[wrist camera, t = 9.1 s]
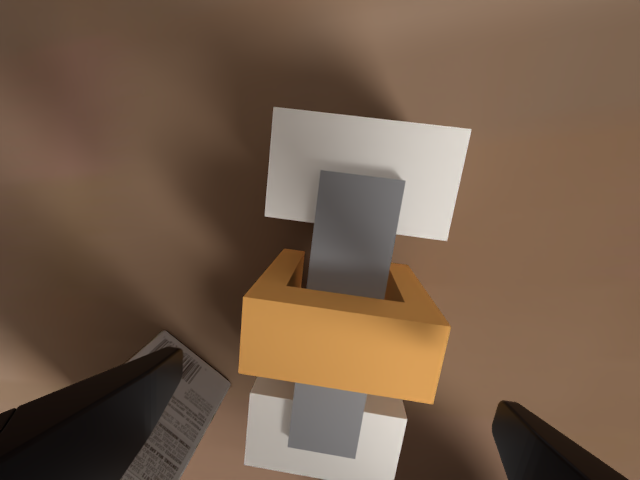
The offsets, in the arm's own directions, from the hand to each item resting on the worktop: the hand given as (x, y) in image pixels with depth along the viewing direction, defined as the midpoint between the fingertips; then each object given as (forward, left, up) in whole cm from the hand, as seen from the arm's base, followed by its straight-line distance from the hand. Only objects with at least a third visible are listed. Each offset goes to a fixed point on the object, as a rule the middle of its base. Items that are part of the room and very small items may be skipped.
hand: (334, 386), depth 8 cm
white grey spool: (0, 0, -11) cm, 11 cm away
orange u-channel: (0, 0, -9) cm, 9 cm away
